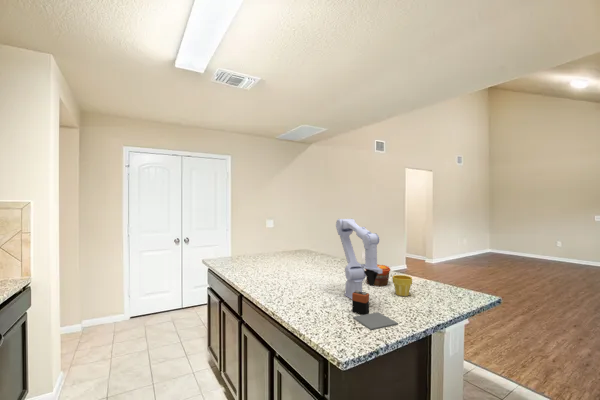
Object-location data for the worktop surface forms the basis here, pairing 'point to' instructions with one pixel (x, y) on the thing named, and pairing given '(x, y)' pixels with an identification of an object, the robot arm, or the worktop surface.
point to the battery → (360, 302)
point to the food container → (382, 276)
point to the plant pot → (402, 284)
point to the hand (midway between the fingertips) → (371, 285)
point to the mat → (375, 321)
